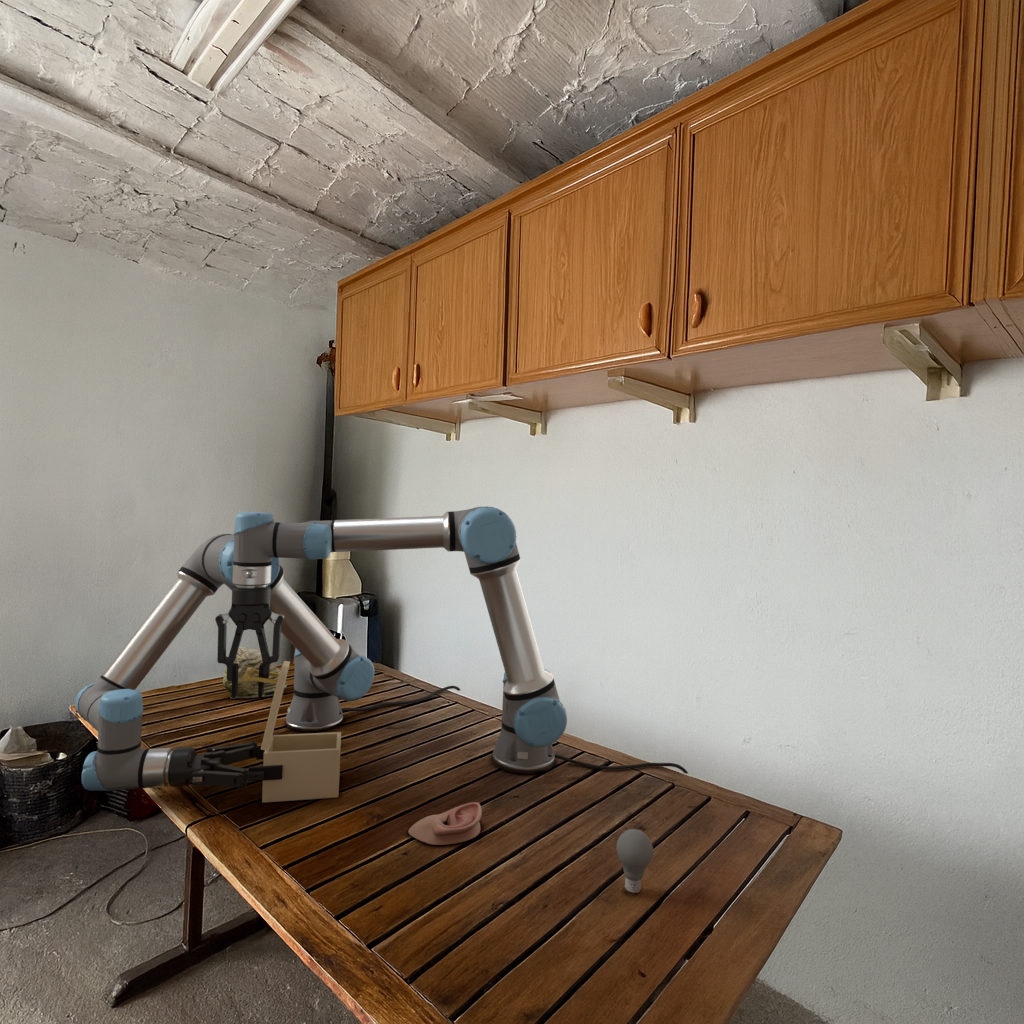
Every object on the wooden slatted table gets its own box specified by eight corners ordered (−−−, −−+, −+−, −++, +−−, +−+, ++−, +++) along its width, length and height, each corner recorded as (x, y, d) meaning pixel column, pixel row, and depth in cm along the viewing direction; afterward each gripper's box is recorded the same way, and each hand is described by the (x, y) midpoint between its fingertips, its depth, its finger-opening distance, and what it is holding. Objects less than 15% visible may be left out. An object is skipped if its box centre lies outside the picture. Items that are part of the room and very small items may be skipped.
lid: (290, 661, 140) (251, 655, 138) (285, 674, 131) (243, 667, 129) (273, 732, 140) (234, 727, 138) (267, 750, 130) (224, 745, 128)
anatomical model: (402, 819, 118) (423, 791, 129) (402, 840, 118) (422, 811, 129) (471, 829, 115) (486, 801, 126) (470, 851, 115) (486, 820, 126)
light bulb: (610, 879, 108) (613, 822, 108) (644, 879, 109) (647, 822, 109) (619, 902, 102) (622, 840, 102) (655, 901, 103) (658, 840, 103)
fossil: (218, 695, 195) (220, 647, 195) (278, 685, 208) (279, 640, 207) (228, 703, 189) (230, 653, 188) (289, 692, 201) (290, 645, 201)
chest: (339, 776, 144) (341, 731, 143) (338, 797, 134) (340, 749, 134) (268, 781, 140) (270, 735, 140) (261, 802, 130) (263, 753, 130)
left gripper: (185, 762, 142) (289, 757, 147) (153, 812, 120) (278, 803, 125) (186, 729, 141) (291, 725, 147) (155, 772, 119) (279, 766, 125)
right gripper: (202, 587, 127) (198, 702, 128) (293, 588, 132) (289, 699, 132) (210, 582, 135) (206, 691, 135) (297, 583, 139) (293, 688, 139)
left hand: (285, 761), depth 136 cm, fingers closed on chest, 10 cm apart
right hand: (247, 695), depth 134 cm, fingers open, 4 cm apart
